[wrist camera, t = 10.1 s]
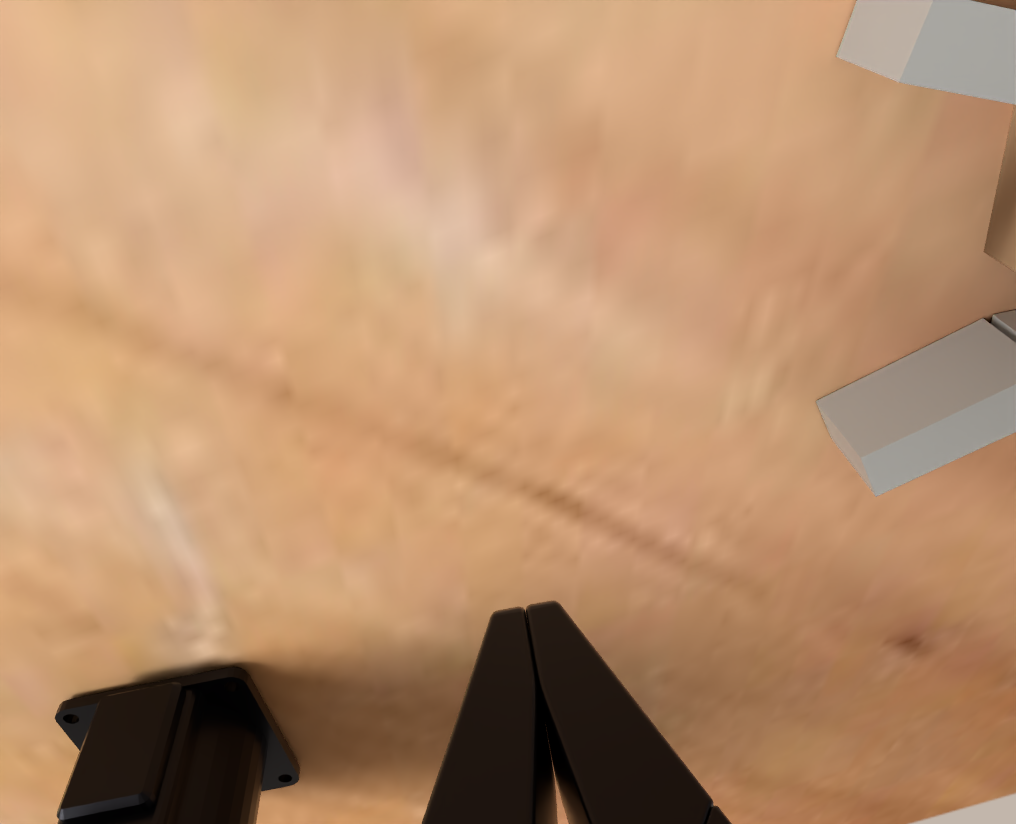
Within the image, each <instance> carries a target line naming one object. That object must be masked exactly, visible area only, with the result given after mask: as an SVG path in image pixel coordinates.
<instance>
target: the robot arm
mask: <svg viewBox="0 0 1016 824" xmlns="http://www.w3.org/2000/svg"><path fill="white" fill-rule="evenodd" d="M526 616H527V617H526ZM527 622H528V623H527ZM55 720H56V722H57V723H58V724H59V725H60V727H61V728H62V729H63V730H64V732H65V733H66V734H67V735H68V737H69V738H70V739H71V740H72V742H73V743H74V744H75V745H76V746H77V748H78V749H79V750H80V752H79V755H78V757H77V760H76V763H75V765H74V768H73V771H72V773H71V776H70V779H69V781H68V784H67V787H66V789H65V792H64V795H63V797H62V800H61V803H60V805H59V808H58V811H57V817H58V818H59V821H58V824H256V820H257V813H258V807H259V801H260V795H261V791H266V790H271V789H276V788H281V787H286V786H290V785H293V784H295V783H297V782H298V780H299V774H300V766H299V764H298V762H297V760H296V759H295V757H294V755H293V753H292V751H291V750H290V748H289V746H288V744H287V742H286V741H285V739H284V737H283V735H282V733H281V732H280V730H279V728H278V726H277V724H276V723H275V721H274V719H273V717H272V715H271V713H270V712H269V710H268V708H267V706H266V704H265V703H264V701H263V699H262V697H261V695H260V694H259V692H258V690H257V688H256V686H255V685H254V683H253V681H252V679H251V677H250V676H249V674H248V673H247V672H246V671H245V670H243V669H241V668H236V667H230V668H224V669H219V670H214V671H209V672H204V673H199V674H194V675H189V676H184V677H179V678H174V679H169V680H164V681H159V682H154V683H149V684H144V685H139V686H134V687H129V688H124V689H119V690H114V691H109V692H104V693H99V694H94V695H89V696H84V697H79V698H74V699H69V700H66V701H63V702H62V703H61V704H60V706H59V708H58V710H57V713H56V716H55ZM546 729H547V730H546ZM547 735H548V736H547ZM548 740H549V741H548ZM549 745H550V747H549ZM550 751H551V753H550ZM551 756H552V759H551ZM552 762H553V765H552ZM553 766H554V771H555V776H556V781H557V784H558V788H559V792H560V796H561V799H562V803H563V806H564V809H565V812H566V816H567V819H568V822H569V824H731V822H730V821H729V820H728V819H727V817H726V816H725V815H724V813H723V812H722V811H721V810H720V808H719V807H718V806H713V800H712V799H711V797H710V796H709V795H708V793H707V792H706V791H705V790H704V788H703V787H702V786H701V784H700V783H699V782H698V781H697V779H696V778H695V777H694V775H693V774H692V773H691V772H690V770H689V769H688V768H687V766H686V765H685V764H684V763H683V761H682V760H681V759H680V757H679V756H678V755H677V754H676V752H675V751H674V750H673V748H672V747H671V746H670V745H669V743H668V742H667V741H666V739H665V738H664V737H663V736H662V734H661V733H660V732H659V731H658V729H657V728H656V727H655V725H654V724H653V723H652V722H651V720H650V719H649V718H648V716H647V715H646V714H645V713H644V711H643V710H642V709H641V707H640V706H639V705H638V704H637V702H636V701H635V700H634V698H633V697H632V696H631V695H630V693H629V692H628V691H627V689H626V688H625V687H624V686H623V684H622V683H621V682H620V680H619V679H618V678H617V677H616V675H615V674H614V673H613V671H612V670H611V669H610V668H609V666H608V665H607V664H606V662H605V661H604V660H603V659H602V657H601V656H600V655H599V654H598V652H597V651H596V650H595V648H594V647H593V646H592V645H591V643H590V642H589V641H588V639H587V638H586V637H585V636H584V634H583V633H582V632H581V630H580V629H579V628H578V627H577V625H576V624H575V623H574V621H573V620H572V619H571V618H570V616H569V615H568V614H567V612H566V611H565V610H564V609H563V607H562V606H561V605H560V604H559V603H558V602H556V601H547V602H542V603H536V604H531V605H529V606H528V607H527V608H526V612H525V610H524V609H523V608H522V607H514V608H509V609H503V610H498V611H495V612H494V613H493V614H492V616H491V617H490V620H489V623H488V626H487V629H486V632H485V635H484V638H483V641H482V644H481V647H480V650H479V653H478V656H477V659H476V662H475V665H474V668H473V671H472V674H471V677H470V680H469V683H468V686H467V689H466V692H465V695H464V698H463V701H462V704H461V707H460V710H459V713H458V716H457V719H456V722H455V725H454V728H453V731H452V734H451V737H450V740H449V743H448V746H447V749H446V752H445V755H444V758H443V761H442V764H441V767H440V770H439V773H438V776H437V779H436V782H435V785H434V788H433V791H432V794H431V797H430V800H429V803H428V806H427V809H426V812H425V815H424V818H423V821H422V824H558V822H557V803H556V790H555V779H554V772H553Z"/></svg>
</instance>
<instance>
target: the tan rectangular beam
mask: <svg viewBox="0 0 1016 824" xmlns="http://www.w3.org/2000/svg"><path fill="white" fill-rule="evenodd" d="M984 252H985V253H986V254H988V255H990V256H991V257H993V258H994V259H996V260H997V261H999V262H1000V263H1002V264H1003V265H1005V266H1007V267H1008V268H1010V269H1011V270H1013V271H1014V272H1016V105H1015V104H1014V108H1013V113H1012V118H1011V123H1010V128H1009V132H1008V137H1007V142H1006V147H1005V152H1004V157H1003V161H1002V166H1001V171H1000V176H999V181H998V185H997V190H996V195H995V200H994V205H993V210H992V214H991V219H990V224H989V229H988V234H987V239H986V243H985V248H984Z"/></svg>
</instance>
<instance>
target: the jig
mask: <svg viewBox="0 0 1016 824" xmlns="http://www.w3.org/2000/svg"><path fill="white" fill-rule="evenodd" d="M836 57H838V58H840V59H843V60H845V61H848V62H850V63H853V64H855V65H857V66H860V67H862V68H865V69H867V70H870V71H872V72H875V73H877V74H879V75H882V76H884V77H887V78H889V79H892V80H894V81H897V82H899V83H904V84H910V85H915V86H920V87H926V88H931V89H936V90H941V91H947V92H952V93H957V94H962V95H968V96H973V97H978V98H983V99H989V100H994V101H999V102H1004V103H1010V104H1015V105H1016V10H1013V9H1008V8H1004V7H999V6H995V5H990V4H985V3H981V2H976V1H971V0H857V1H856V4H855V7H854V10H853V12H852V15H851V18H850V20H849V23H848V26H847V28H846V31H845V34H844V36H843V39H842V42H841V45H840V47H839V50H838V53H837V55H836ZM816 403H817V405H818V408H819V410H820V412H821V415H822V417H823V420H824V422H825V425H826V427H827V429H828V432H829V434H830V437H831V439H832V440H833V441H834V443H835V444H836V445H837V446H838V448H839V449H840V450H841V452H842V453H843V454H844V456H845V457H846V458H847V460H848V461H849V462H850V463H851V465H852V466H853V467H854V469H855V470H856V471H857V473H858V474H859V475H860V477H861V478H862V479H863V481H864V482H865V483H866V484H867V486H868V487H869V488H870V490H871V491H872V492H873V494H874V495H875V496H879V495H881V494H883V493H885V492H887V491H889V490H892V489H894V488H896V487H898V486H900V485H902V484H905V483H907V482H909V481H911V480H913V479H915V478H917V477H920V476H922V475H924V474H926V473H928V472H930V471H933V470H935V469H937V468H939V467H941V466H943V465H946V464H948V463H950V462H952V461H954V460H956V459H958V458H961V457H963V456H965V455H967V454H969V453H971V452H974V451H976V450H978V449H980V448H982V447H984V446H987V445H989V444H991V443H993V442H995V441H997V440H1000V439H1002V438H1004V437H1006V436H1008V435H1010V434H1012V433H1015V432H1016V310H1013V311H1008V312H1003V313H998V314H993V317H992V322H991V324H990V323H989V322H987V321H986V320H985V319H983V318H982V319H980V320H978V321H976V322H974V323H972V324H970V325H968V326H966V327H964V328H962V329H960V330H958V331H956V332H954V333H952V334H950V335H948V336H946V337H944V338H942V339H940V340H938V341H936V342H934V343H932V344H930V345H928V346H926V347H924V348H922V349H920V350H918V351H916V352H914V353H912V354H910V355H908V356H906V357H904V358H902V359H900V360H898V361H896V362H894V363H892V364H889V365H887V366H885V367H883V368H881V369H879V370H877V371H875V372H873V373H871V374H869V375H867V376H865V377H863V378H861V379H859V380H857V381H855V382H853V383H851V384H849V385H847V386H845V387H843V388H841V389H839V390H837V391H835V392H833V393H831V394H829V395H827V396H825V397H823V398H821V399H819V400H817V401H816Z"/></svg>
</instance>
